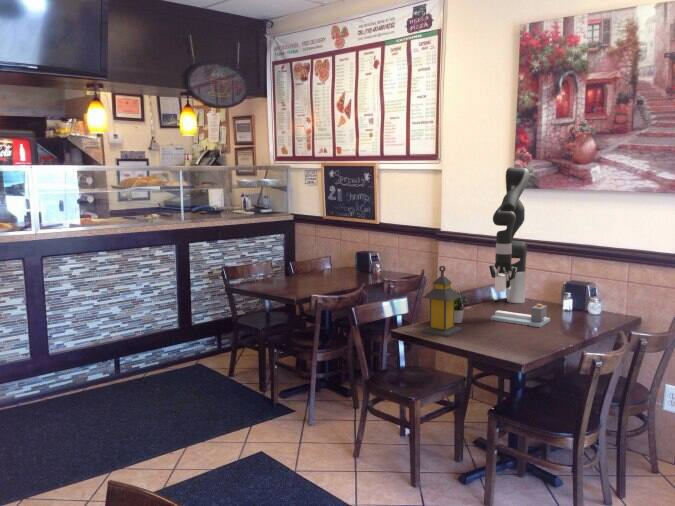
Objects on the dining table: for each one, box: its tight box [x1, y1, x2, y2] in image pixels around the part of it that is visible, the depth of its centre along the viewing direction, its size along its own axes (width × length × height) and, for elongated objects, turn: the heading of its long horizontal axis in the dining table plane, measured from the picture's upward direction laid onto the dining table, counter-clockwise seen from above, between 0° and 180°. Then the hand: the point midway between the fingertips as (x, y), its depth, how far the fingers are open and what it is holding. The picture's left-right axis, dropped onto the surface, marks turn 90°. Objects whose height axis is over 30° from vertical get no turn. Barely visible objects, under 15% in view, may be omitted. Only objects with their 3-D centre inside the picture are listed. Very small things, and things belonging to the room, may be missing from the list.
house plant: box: [454, 288, 472, 324], centre depth 286 cm, size 14×14×16 cm
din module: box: [494, 274, 511, 293], centre depth 292 cm, size 8×4×7 cm, turn 141°
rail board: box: [490, 303, 551, 328], centre depth 288 cm, size 14×24×9 cm, turn 52°
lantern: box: [421, 265, 463, 338], centre depth 271 cm, size 14×14×30 cm
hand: (502, 287), depth 292 cm, fingers closed on din module, 4 cm apart
